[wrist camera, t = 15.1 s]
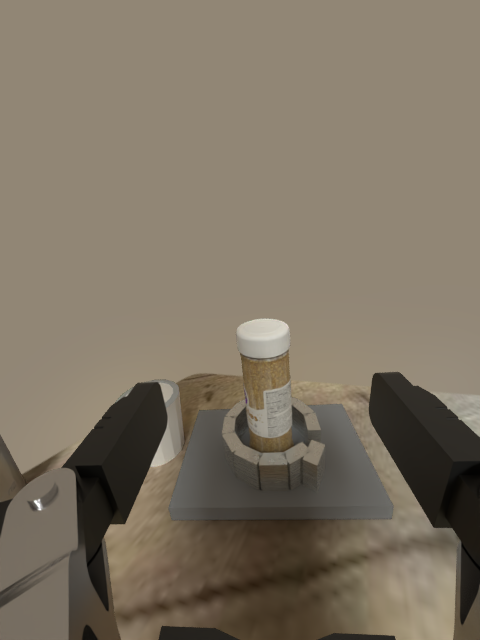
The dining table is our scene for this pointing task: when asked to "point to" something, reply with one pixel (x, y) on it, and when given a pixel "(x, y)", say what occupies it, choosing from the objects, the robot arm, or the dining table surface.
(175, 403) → the white tapered cup
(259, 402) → the sprinkles bottle
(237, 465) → the stone block collar
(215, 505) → the socket plate
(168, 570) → the dining table surface
